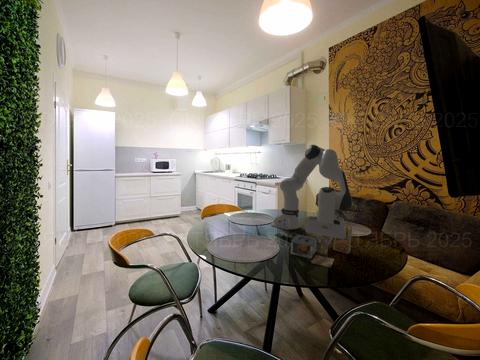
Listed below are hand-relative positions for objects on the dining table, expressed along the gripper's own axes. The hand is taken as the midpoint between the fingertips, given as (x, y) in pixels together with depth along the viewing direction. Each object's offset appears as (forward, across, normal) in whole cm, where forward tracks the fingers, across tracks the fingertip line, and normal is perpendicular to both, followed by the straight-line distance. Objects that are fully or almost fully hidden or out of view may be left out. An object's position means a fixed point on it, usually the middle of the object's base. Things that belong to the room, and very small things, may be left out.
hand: (324, 243), depth 124 cm
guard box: (+10, -12, +6) cm, 17 cm away
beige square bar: (+5, 0, 0) cm, 5 cm away
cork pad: (+10, 0, 0) cm, 10 cm away
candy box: (+11, +7, +20) cm, 23 cm away
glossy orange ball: (+9, -12, +6) cm, 16 cm away
